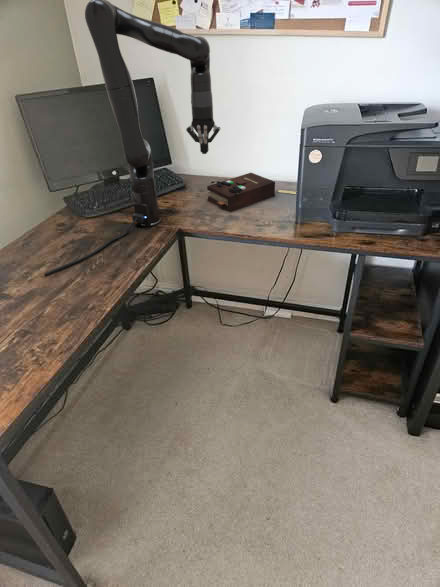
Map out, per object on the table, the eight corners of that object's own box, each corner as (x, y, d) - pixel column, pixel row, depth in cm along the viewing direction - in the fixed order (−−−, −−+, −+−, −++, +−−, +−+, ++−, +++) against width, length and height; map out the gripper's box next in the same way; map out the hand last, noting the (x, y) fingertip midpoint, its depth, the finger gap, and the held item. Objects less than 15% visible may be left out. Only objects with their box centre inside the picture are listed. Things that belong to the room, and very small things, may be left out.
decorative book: (281, 179, 177) (226, 197, 164) (280, 195, 182) (227, 214, 168) (253, 168, 190) (200, 185, 177) (253, 184, 195) (202, 201, 181)
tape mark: (296, 194, 182) (296, 193, 182) (277, 192, 185) (277, 191, 185) (297, 192, 184) (297, 191, 184) (279, 190, 187) (279, 189, 187)
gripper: (222, 101, 143) (223, 150, 154) (186, 101, 145) (190, 149, 156) (218, 106, 137) (219, 157, 148) (181, 106, 139) (185, 156, 150)
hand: (204, 153), depth 152 cm, fingers closed
